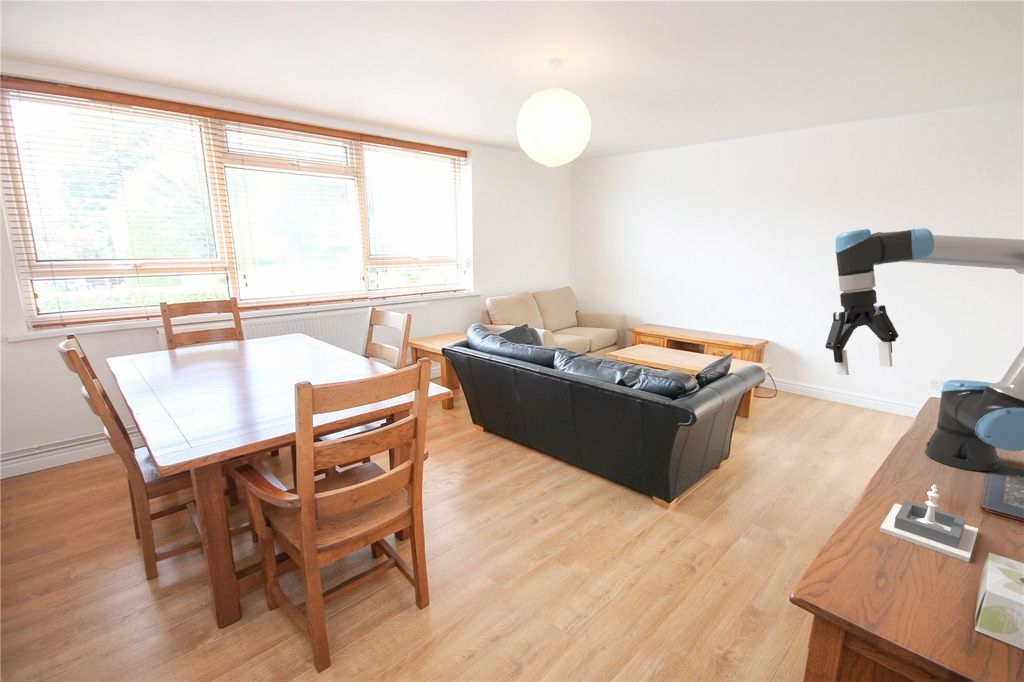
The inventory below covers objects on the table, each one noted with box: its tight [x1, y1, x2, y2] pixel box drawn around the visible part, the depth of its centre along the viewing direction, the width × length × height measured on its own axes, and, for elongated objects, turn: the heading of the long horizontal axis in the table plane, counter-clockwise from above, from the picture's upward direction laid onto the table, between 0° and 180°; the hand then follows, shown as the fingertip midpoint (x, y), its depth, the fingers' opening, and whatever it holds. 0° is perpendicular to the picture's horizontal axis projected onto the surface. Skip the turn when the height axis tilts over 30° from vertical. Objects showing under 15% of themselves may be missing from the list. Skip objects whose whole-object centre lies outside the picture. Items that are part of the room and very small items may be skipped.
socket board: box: [879, 499, 979, 563], centre depth 99 cm, size 14×14×4 cm
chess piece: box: [915, 484, 944, 529], centre depth 98 cm, size 5×5×10 cm
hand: (864, 370), depth 121 cm, fingers open, 13 cm apart
